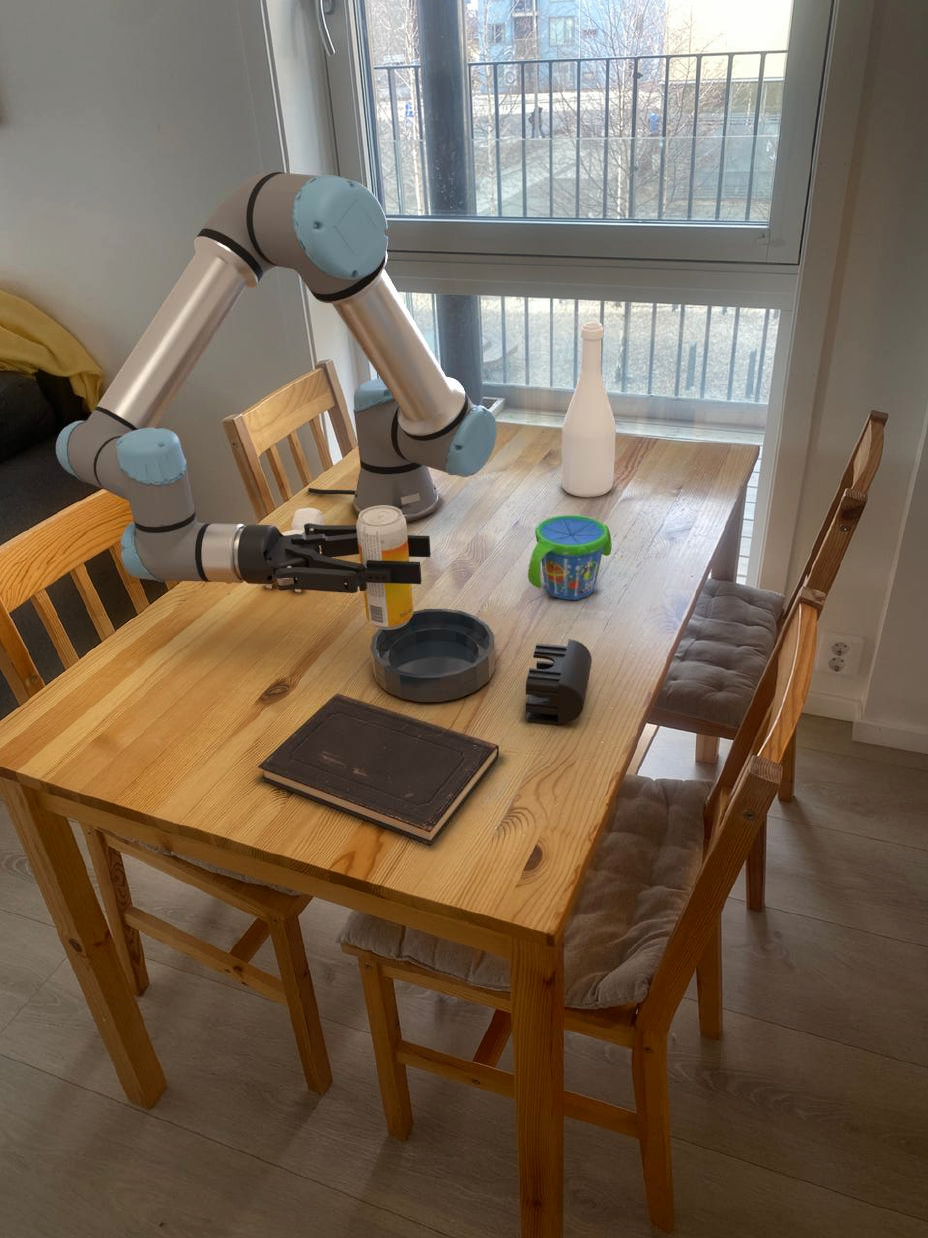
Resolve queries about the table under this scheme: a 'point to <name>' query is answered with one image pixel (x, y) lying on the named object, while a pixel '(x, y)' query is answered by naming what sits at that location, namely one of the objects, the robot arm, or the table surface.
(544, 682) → the end cap
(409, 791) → the hardcover book
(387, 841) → the table surface
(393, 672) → the bowl
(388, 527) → the beer can
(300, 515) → the white animal figurine
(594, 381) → the wine bottle
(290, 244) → the robot arm
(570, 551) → the snack cup
